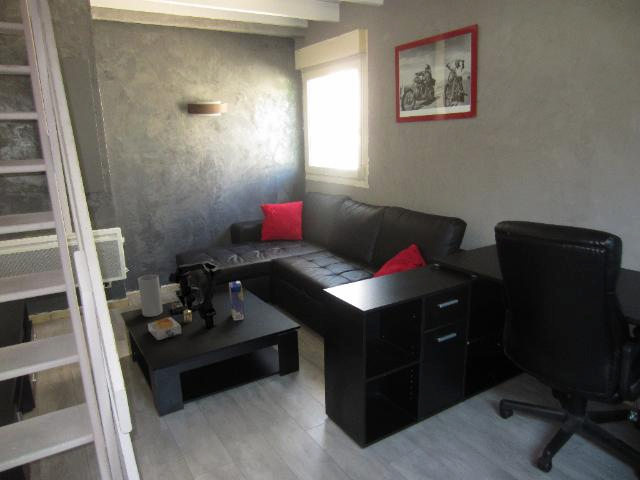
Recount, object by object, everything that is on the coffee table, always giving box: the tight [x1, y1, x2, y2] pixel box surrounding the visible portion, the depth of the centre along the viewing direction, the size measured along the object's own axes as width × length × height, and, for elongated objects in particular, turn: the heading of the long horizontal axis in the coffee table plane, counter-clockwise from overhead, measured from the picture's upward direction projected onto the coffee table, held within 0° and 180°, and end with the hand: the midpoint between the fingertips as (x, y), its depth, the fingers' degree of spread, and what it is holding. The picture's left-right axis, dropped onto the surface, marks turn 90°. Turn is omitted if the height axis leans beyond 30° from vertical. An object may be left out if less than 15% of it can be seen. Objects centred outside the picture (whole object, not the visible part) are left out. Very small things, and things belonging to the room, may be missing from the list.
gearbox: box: [147, 316, 182, 341], centre depth 266 cm, size 19×14×7 cm
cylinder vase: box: [137, 274, 164, 318], centre depth 294 cm, size 12×12×25 cm
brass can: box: [183, 309, 193, 324], centre depth 282 cm, size 5×5×7 cm
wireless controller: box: [171, 281, 203, 315], centre depth 301 cm, size 20×14×17 cm
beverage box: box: [228, 280, 245, 321], centre depth 285 cm, size 7×11×22 cm, turn 18°
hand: (187, 308), depth 281 cm, fingers open, 9 cm apart
